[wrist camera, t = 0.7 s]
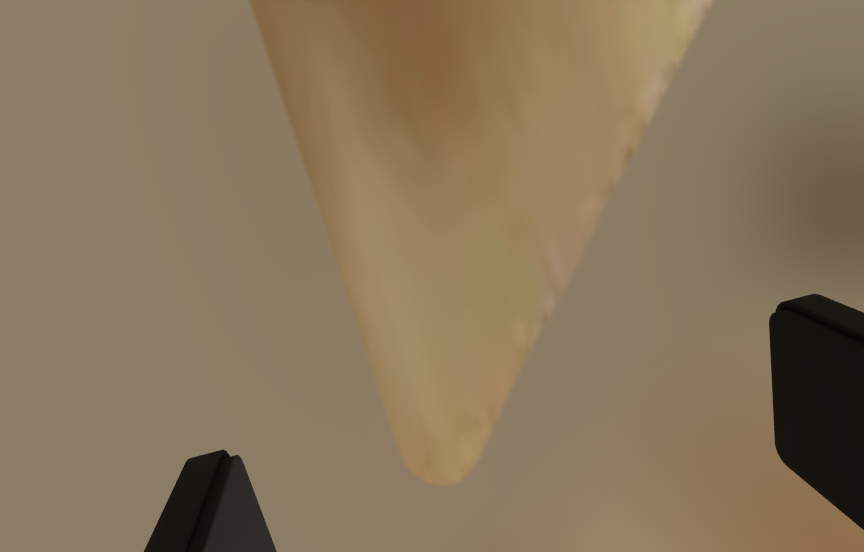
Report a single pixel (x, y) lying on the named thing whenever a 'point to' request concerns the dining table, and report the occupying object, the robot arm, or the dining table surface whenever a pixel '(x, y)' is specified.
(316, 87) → the dining table surface
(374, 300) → the dining table surface
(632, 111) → the dining table surface
